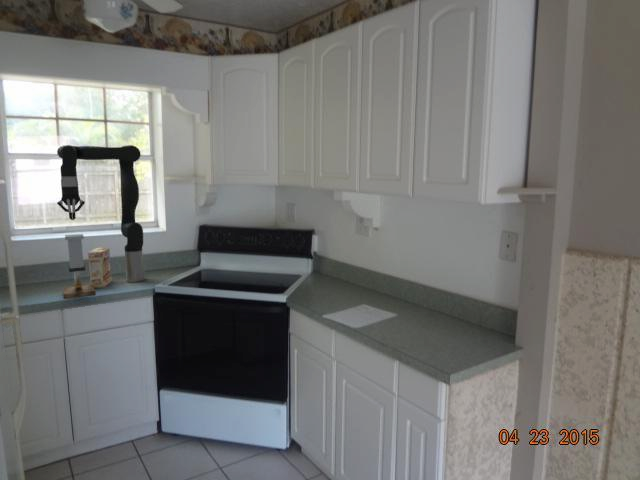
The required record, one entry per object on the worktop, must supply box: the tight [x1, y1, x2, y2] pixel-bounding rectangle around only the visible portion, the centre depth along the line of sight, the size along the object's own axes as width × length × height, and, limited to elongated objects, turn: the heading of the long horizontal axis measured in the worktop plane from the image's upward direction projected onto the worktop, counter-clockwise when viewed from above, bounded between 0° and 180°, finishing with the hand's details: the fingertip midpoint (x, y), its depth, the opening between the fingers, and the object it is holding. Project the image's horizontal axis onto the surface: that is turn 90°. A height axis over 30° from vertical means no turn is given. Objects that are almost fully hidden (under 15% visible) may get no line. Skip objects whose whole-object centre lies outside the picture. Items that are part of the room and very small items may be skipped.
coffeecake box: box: [87, 246, 113, 289], centre depth 252 cm, size 15×7×20 cm, turn 9°
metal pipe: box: [73, 271, 83, 290], centre depth 234 cm, size 4×4×17 cm
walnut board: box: [62, 284, 96, 299], centre depth 236 cm, size 14×14×2 cm
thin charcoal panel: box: [68, 264, 86, 273], centre depth 234 cm, size 7×7×2 cm
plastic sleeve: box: [64, 233, 85, 269], centre depth 232 cm, size 8×8×16 cm
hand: (72, 219), depth 235 cm, fingers closed
